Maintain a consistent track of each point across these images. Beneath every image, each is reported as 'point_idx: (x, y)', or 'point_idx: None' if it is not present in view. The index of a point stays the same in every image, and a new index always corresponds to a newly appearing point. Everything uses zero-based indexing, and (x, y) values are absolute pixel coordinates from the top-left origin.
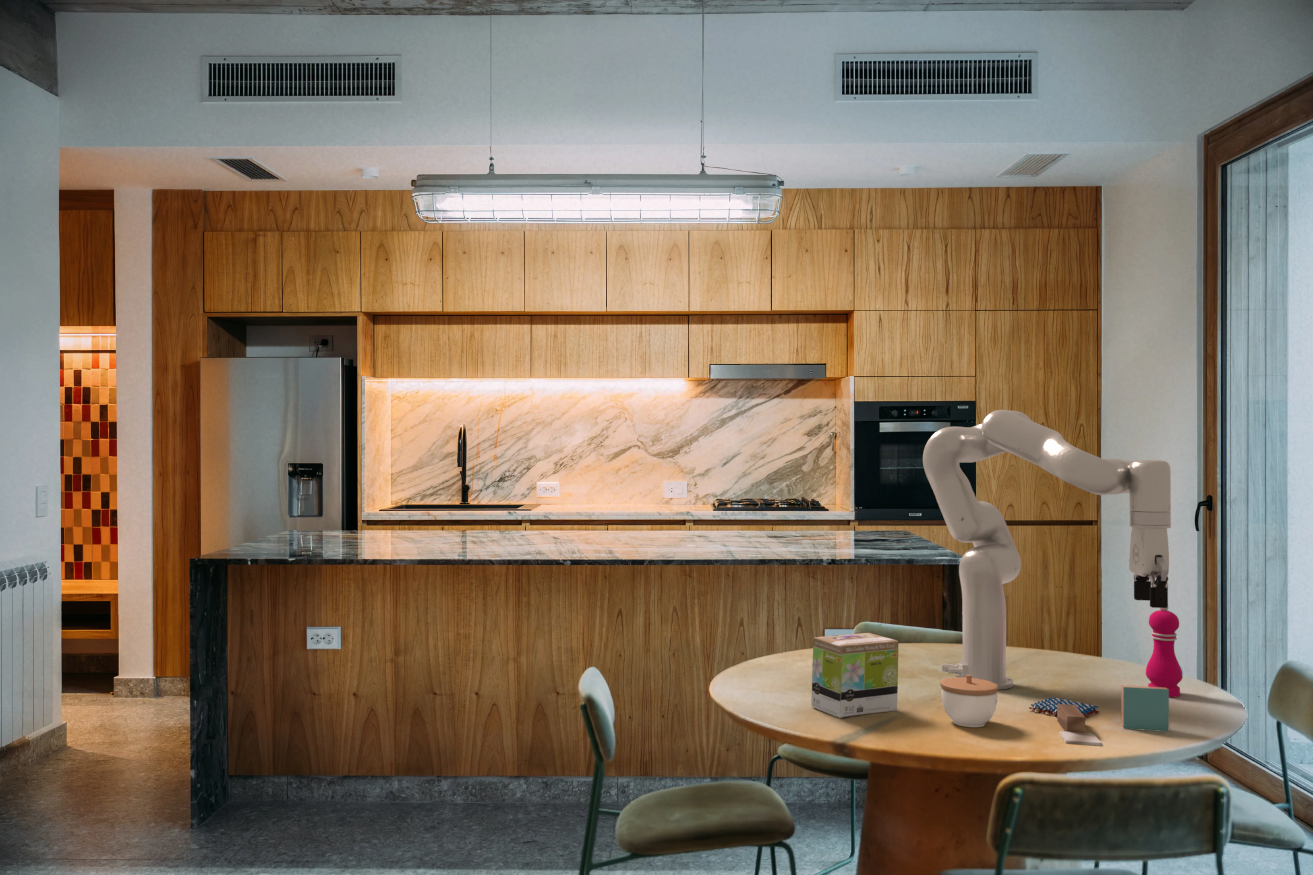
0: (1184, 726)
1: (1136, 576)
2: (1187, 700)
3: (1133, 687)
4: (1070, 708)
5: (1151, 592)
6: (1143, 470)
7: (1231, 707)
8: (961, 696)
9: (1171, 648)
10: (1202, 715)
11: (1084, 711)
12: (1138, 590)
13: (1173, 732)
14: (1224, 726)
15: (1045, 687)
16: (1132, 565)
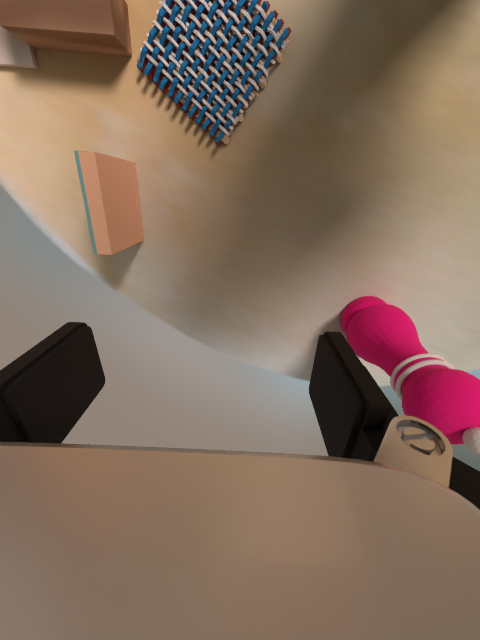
0: (167, 274)
1: (379, 451)
2: (321, 334)
3: (81, 177)
4: (71, 6)
5: (9, 370)
6: None
7: (286, 372)
8: None
9: (386, 370)
10: (237, 322)
11: (178, 94)
12: (333, 376)
13: None
14: (183, 327)
15: (439, 74)
16: (293, 583)
